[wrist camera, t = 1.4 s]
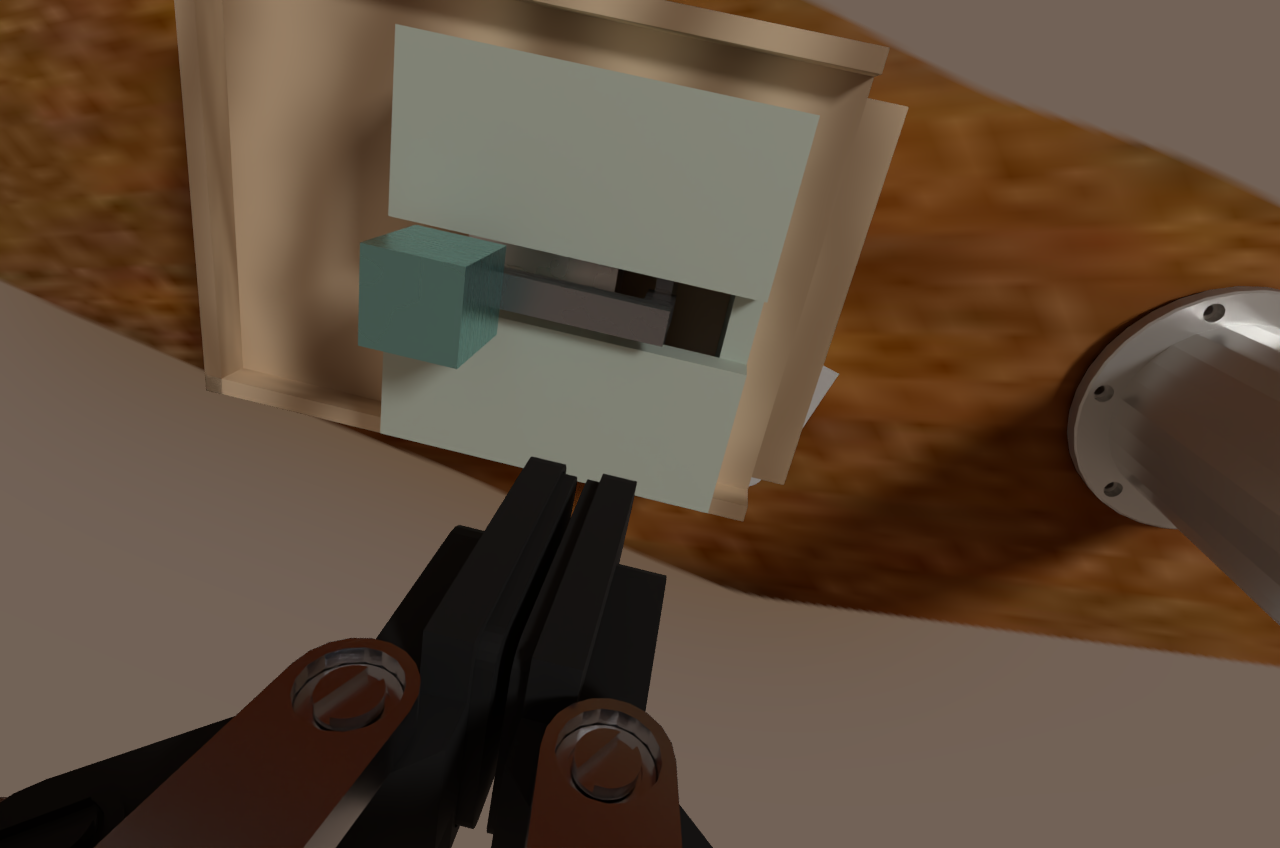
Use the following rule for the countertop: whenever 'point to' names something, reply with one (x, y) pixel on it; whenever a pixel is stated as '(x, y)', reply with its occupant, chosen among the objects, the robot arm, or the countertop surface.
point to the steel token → (561, 267)
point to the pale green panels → (589, 253)
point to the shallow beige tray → (358, 211)
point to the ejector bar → (480, 298)
